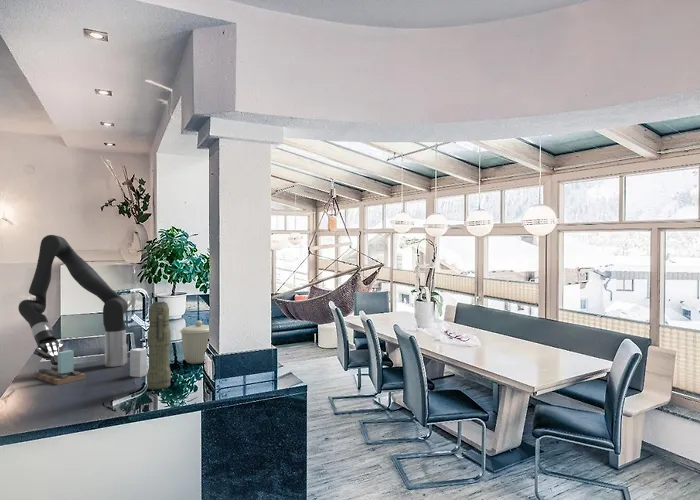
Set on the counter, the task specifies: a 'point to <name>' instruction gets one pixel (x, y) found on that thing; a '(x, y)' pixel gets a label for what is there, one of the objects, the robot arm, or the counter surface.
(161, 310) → the thermos
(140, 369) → the skincare box
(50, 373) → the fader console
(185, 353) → the canister
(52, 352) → the robot arm
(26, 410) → the counter surface
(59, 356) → the fader tab
